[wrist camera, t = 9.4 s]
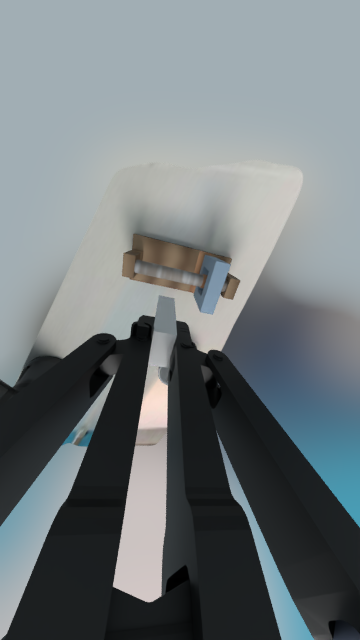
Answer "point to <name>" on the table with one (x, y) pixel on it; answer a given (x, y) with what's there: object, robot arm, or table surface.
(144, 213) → the table surface
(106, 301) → the table surface
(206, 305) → the ring
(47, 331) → the table surface
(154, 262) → the wooden rod stand
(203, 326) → the table surface
